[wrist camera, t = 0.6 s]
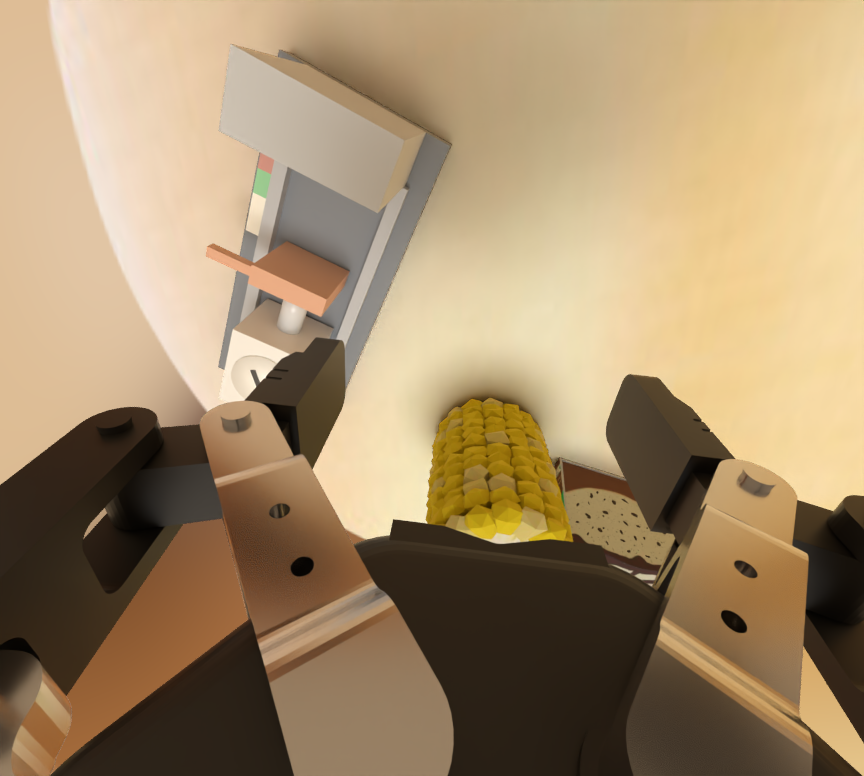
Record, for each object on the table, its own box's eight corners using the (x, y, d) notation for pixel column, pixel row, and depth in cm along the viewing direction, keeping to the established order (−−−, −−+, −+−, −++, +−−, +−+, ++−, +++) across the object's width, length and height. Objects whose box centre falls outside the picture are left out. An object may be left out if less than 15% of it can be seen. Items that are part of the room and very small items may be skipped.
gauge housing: (277, 260, 27) (238, 288, 23) (346, 293, 28) (322, 326, 24) (251, 362, 32) (216, 401, 28) (311, 387, 33) (286, 429, 29)
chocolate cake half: (515, 495, 40) (525, 593, 32) (544, 452, 37) (563, 550, 29) (628, 528, 42) (665, 631, 33) (665, 490, 38) (717, 594, 30)
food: (427, 444, 40) (473, 361, 35) (533, 504, 39) (596, 429, 34) (359, 569, 27) (418, 467, 22) (517, 663, 26) (616, 580, 21)
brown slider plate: (247, 222, 26) (204, 242, 22) (349, 271, 27) (326, 299, 23) (244, 239, 27) (202, 262, 23) (344, 286, 28) (320, 316, 24)
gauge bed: (290, 52, 22) (189, 21, 15) (451, 144, 24) (438, 159, 16) (227, 357, 34) (153, 430, 27) (338, 404, 36) (300, 486, 28)
